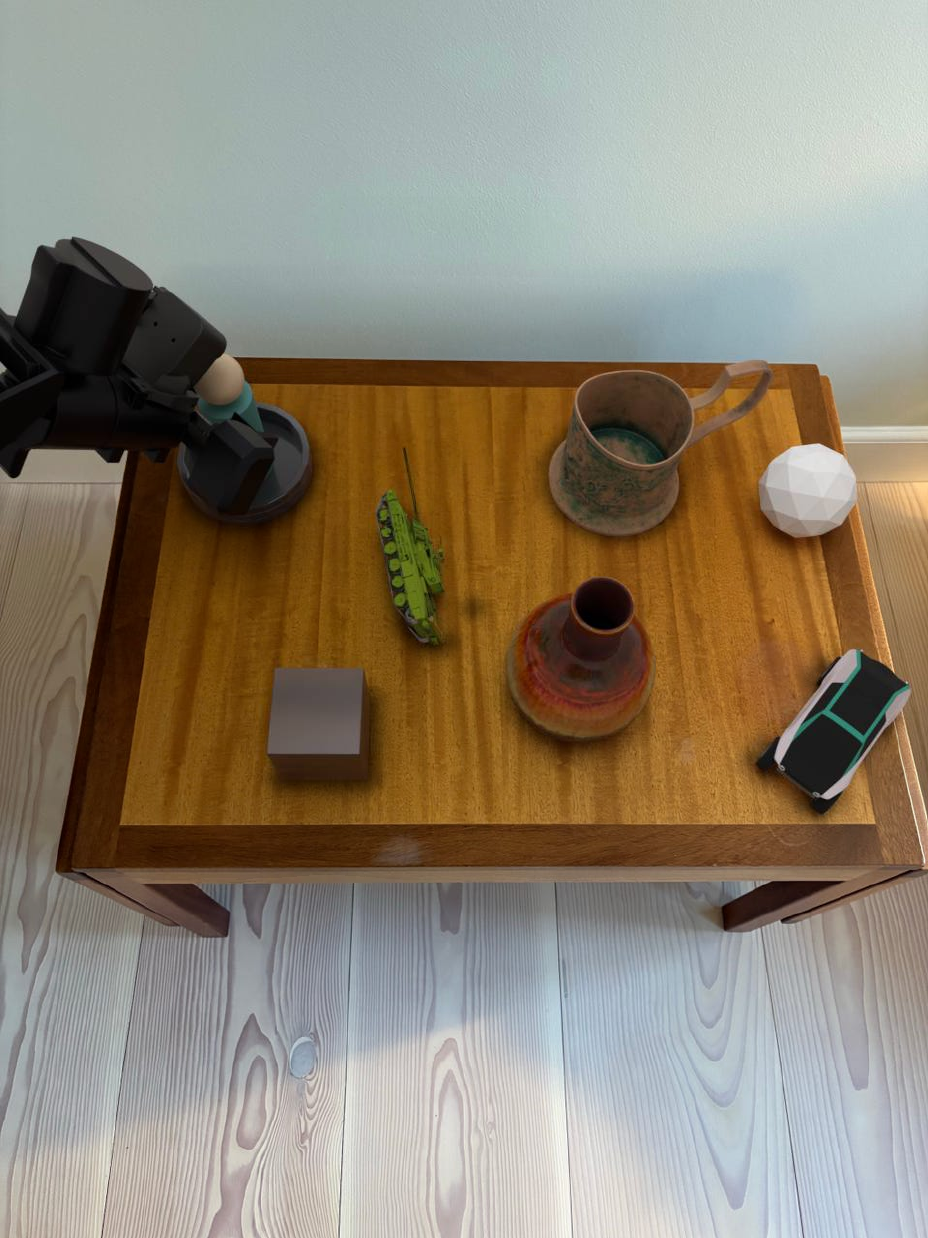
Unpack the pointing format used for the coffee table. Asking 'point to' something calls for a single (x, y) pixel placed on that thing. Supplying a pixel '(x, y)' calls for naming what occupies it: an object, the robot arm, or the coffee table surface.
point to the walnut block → (320, 724)
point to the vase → (581, 663)
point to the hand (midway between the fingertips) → (247, 417)
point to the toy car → (837, 727)
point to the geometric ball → (807, 490)
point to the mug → (635, 446)
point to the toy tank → (411, 565)
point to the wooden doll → (227, 394)
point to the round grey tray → (284, 478)
